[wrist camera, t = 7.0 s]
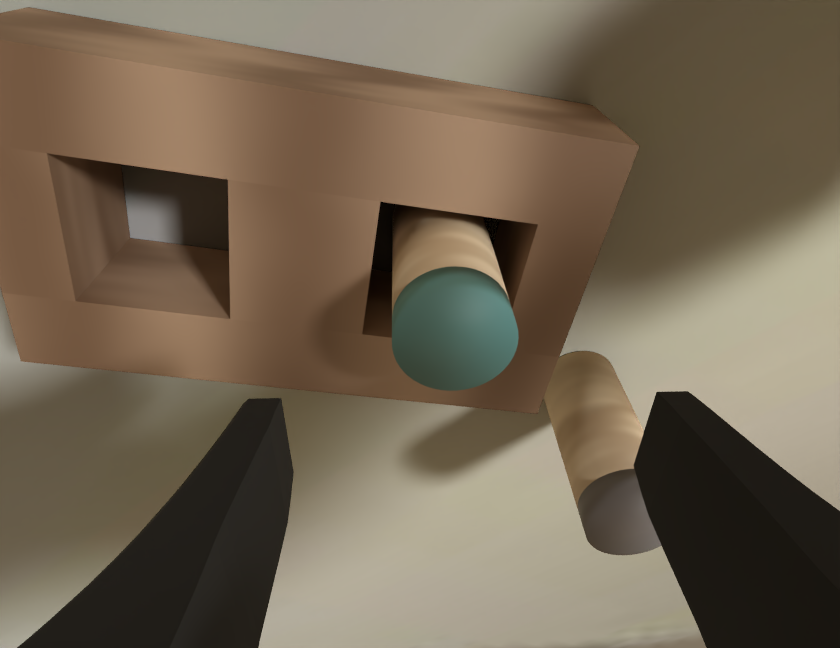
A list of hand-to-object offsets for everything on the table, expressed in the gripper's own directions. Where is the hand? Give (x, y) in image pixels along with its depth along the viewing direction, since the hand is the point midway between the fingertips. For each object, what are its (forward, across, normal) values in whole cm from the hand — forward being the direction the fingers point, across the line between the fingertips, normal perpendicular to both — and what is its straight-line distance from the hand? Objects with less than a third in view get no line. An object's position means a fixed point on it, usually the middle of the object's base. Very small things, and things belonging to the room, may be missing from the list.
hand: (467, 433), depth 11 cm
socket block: (+10, +4, -1) cm, 11 cm away
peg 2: (+10, -6, +7) cm, 14 cm away
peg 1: (+10, 0, 0) cm, 10 cm away
